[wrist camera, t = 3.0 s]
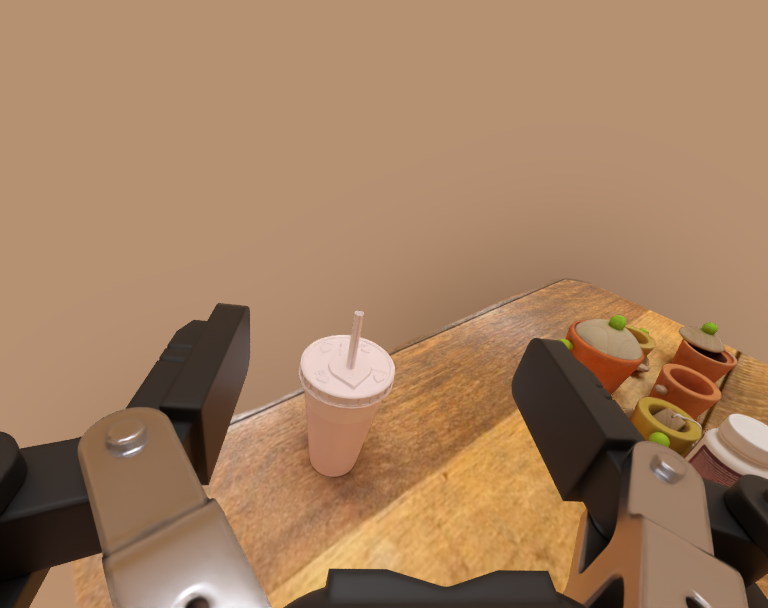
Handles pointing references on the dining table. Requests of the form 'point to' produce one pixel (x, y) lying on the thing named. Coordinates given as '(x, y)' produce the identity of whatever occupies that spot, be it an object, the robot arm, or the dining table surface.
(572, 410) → the robot arm
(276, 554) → the dining table surface
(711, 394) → the toy tea set
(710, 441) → the pill bottle
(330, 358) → the smoothie
